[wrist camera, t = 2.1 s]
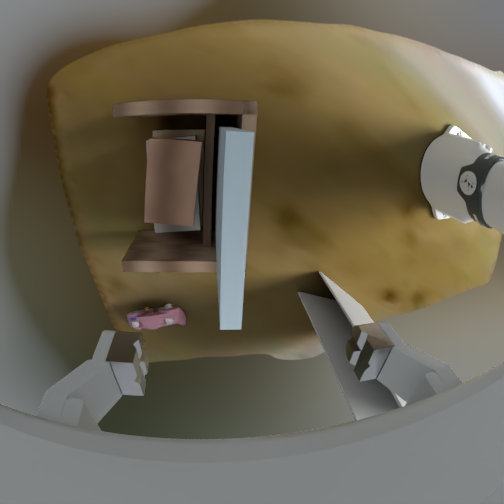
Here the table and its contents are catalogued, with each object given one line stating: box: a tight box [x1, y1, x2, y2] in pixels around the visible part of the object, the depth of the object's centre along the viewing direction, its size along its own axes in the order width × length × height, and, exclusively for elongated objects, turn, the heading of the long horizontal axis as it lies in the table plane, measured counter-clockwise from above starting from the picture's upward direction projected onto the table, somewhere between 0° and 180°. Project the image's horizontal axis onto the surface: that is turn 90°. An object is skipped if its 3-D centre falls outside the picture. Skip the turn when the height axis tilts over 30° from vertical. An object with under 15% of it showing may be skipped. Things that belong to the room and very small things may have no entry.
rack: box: [113, 99, 258, 272], centre depth 34 cm, size 15×20×10 cm
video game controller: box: [127, 304, 186, 330], centre depth 46 cm, size 10×5×7 cm, turn 96°
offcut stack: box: [144, 129, 205, 233], centre depth 35 cm, size 7×13×8 cm, turn 176°
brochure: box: [298, 271, 407, 421], centre depth 39 cm, size 14×6×30 cm, turn 49°
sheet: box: [215, 126, 254, 330], centre depth 29 cm, size 2×14×24 cm, turn 176°
